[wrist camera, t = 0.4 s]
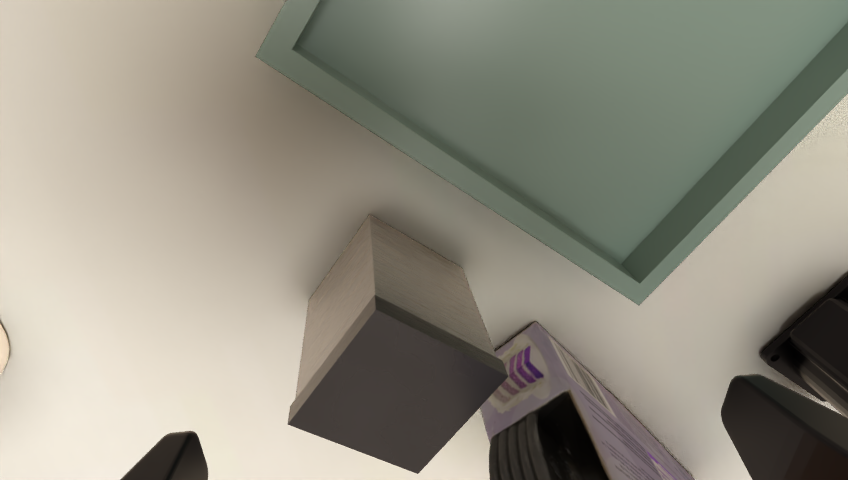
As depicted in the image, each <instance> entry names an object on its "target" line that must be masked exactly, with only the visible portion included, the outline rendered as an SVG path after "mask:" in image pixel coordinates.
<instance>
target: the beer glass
mask: <svg viewBox="0 0 848 480" xmlns="http://www.w3.org/2000/svg"><path fill="white" fill-rule="evenodd" d="M8 358H9V342H8V338H7V336H6V333H5V331H4V329H3V327H2V325H1V324H0V374H1V373H2V372H3V370H4V368H5V366H6V364H7V361H8Z"/></svg>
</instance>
